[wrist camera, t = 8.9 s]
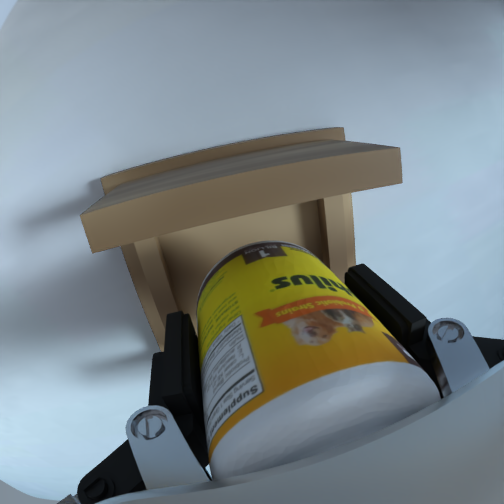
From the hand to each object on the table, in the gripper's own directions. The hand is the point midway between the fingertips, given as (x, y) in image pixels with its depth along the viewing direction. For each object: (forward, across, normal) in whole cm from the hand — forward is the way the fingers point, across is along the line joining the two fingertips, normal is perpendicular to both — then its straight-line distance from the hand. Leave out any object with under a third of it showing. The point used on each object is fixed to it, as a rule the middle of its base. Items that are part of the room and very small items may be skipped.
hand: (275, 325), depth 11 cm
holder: (+7, 0, 0) cm, 7 cm away
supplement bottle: (+2, 0, 0) cm, 2 cm away
